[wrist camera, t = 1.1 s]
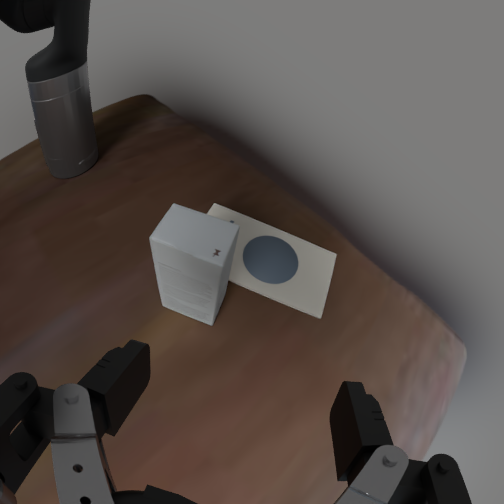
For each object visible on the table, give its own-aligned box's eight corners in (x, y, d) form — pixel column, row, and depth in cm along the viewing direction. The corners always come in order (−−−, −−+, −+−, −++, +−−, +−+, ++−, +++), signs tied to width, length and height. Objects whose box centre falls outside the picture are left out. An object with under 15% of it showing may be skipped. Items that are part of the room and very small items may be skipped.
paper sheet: (178, 258, 34) (178, 256, 33) (214, 204, 39) (214, 202, 39) (320, 318, 32) (321, 317, 32) (335, 255, 38) (336, 253, 38)
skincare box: (225, 294, 32) (243, 225, 23) (212, 327, 30) (224, 268, 20) (176, 274, 32) (173, 200, 23) (160, 306, 30) (147, 238, 20)
